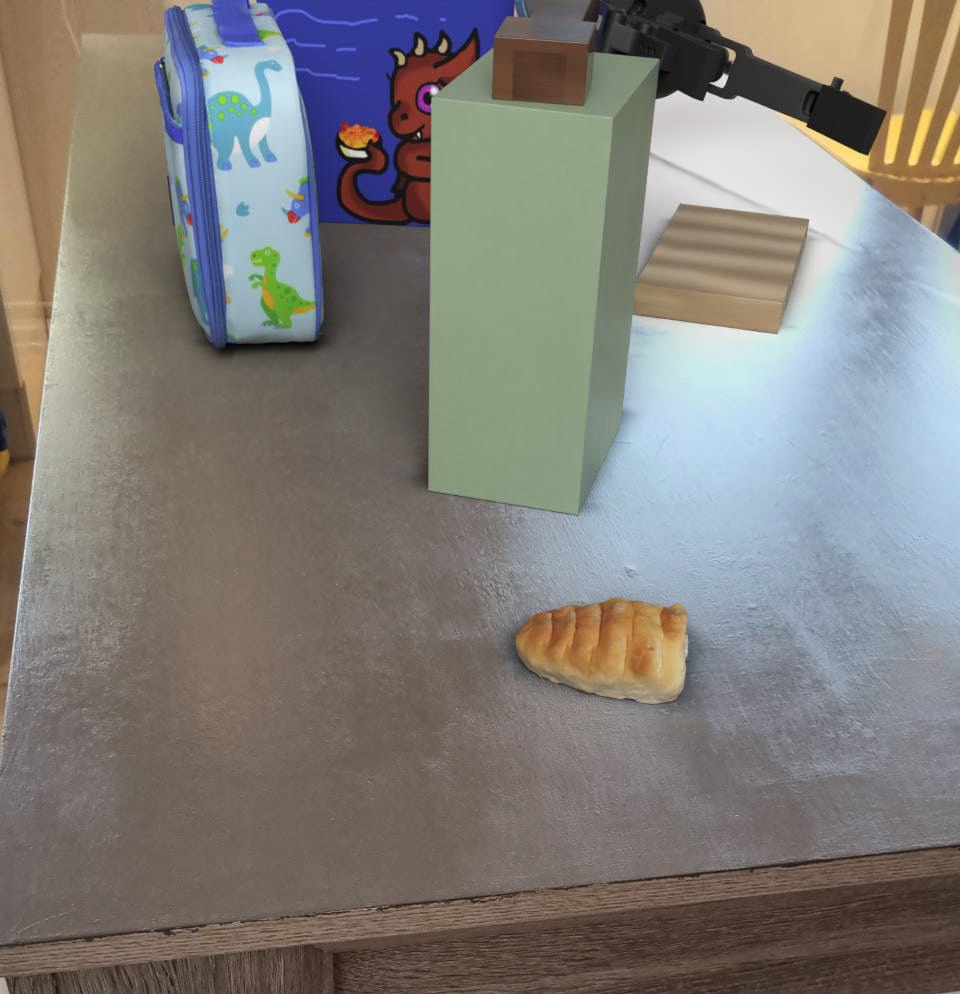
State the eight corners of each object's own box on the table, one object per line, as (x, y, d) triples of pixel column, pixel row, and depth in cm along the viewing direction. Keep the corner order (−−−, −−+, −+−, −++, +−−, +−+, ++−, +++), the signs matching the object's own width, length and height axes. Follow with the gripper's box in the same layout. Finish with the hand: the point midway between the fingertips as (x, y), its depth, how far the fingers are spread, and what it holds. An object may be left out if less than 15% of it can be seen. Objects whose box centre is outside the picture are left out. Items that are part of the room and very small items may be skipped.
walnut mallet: (538, 14, 90) (541, -40, 88) (614, 19, 89) (618, -35, 87) (491, 99, 74) (493, 35, 72) (584, 106, 73) (588, 42, 71)
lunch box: (173, 253, 120) (141, -28, 106) (295, 247, 122) (280, -28, 108) (192, 374, 101) (156, 53, 87) (336, 365, 103) (324, 50, 89)
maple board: (676, 231, 129) (679, 203, 127) (804, 247, 126) (809, 218, 125) (631, 314, 113) (635, 283, 111) (777, 334, 111) (783, 302, 109)
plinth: (485, 404, 99) (498, 42, 83) (620, 424, 97) (659, 58, 82) (428, 491, 89) (431, 97, 73) (577, 515, 87) (613, 117, 72)
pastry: (508, 695, 72) (512, 633, 70) (519, 626, 77) (523, 567, 75) (686, 711, 72) (697, 649, 69) (686, 641, 77) (695, 581, 74)
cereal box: (505, 209, 132) (522, -180, 112) (504, 230, 127) (521, -171, 107) (280, 199, 132) (256, -191, 112) (270, 219, 127) (244, -184, 107)
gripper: (750, 128, 108) (909, 211, 94) (472, 39, 96) (606, 118, 81) (790, 23, 104) (963, 92, 89) (506, -85, 92) (653, -24, 77)
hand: (793, 105), depth 85 cm, fingers open, 13 cm apart
